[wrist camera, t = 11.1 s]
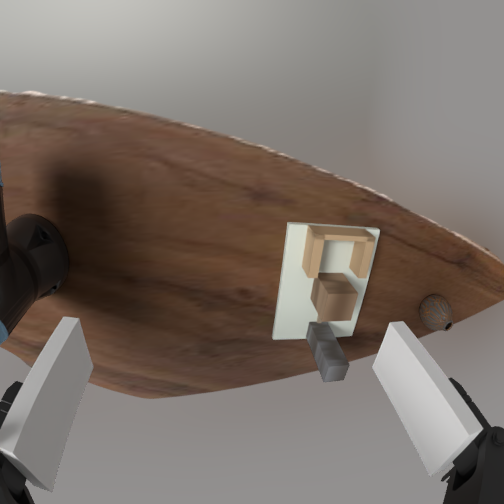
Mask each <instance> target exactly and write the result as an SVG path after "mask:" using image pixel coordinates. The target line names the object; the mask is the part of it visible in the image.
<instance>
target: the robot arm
mask: <svg viewBox="0 0 504 504" xmlns="http://www.w3.org/2000/svg"><path fill="white" fill-rule="evenodd" d="M2 187H3V182H2V179H1V165H0V345H1V344H2V342H3V341H5V340H6V339H7V338H8V336H9V335H10V333H11V332H12V330H13V329H14V328H15V326H16V325H17V324H18V322H19V321H20V320H21V318H22V317H23V316H24V314H25V313H26V312H27V310H28V309H29V308H30V307H31V305H32V304H33V303H34V302H35V301H37V300H40V299H42V298H44V297H47V296H49V295H51V294H53V293H54V292H56V291H57V290H58V289H59V287H60V286H61V285H62V284H63V282H64V281H65V279H66V277H67V274H68V268H69V259H68V253H67V249H66V246H65V243H64V241H63V239H62V237H61V235H60V234H59V232H58V231H57V230H56V228H55V227H54V226H53V225H52V224H51V223H50V222H48V221H47V220H46V219H44V218H42V217H40V216H38V215H34V214H24V215H21V216H19V217H17V218H16V219H14V220H12V221H11V222H10V223H9V224H8V225H7V226H6V222H5V213H4V202H3V189H2ZM372 368H373V370H374V372H375V374H376V376H377V377H378V379H379V381H380V383H381V384H382V386H383V388H384V390H385V392H386V393H387V395H388V397H389V399H390V401H391V403H392V404H393V406H394V408H395V410H396V412H397V414H398V416H399V417H400V419H401V421H402V423H403V425H404V427H405V429H406V431H407V433H408V434H409V436H410V438H411V440H412V442H413V444H414V446H415V448H416V450H417V452H418V454H419V456H420V458H421V460H422V462H423V463H424V466H425V468H426V470H427V472H428V474H429V476H432V475H434V474H436V473H438V472H440V471H443V470H444V469H445V468H447V467H448V466H449V465H450V463H452V462H453V464H454V465H455V466H454V467H453V468H452V469H451V470H450V471H449V472H448V473H447V474H446V475H445V476H443V478H442V480H441V481H444V480H445V479H446V478H448V477H449V476H450V478H449V479H448V480H447V483H448V486H447V490H446V494H445V498H444V502H443V504H504V429H503V428H501V427H496V426H495V427H491V426H490V425H489V423H488V422H487V421H486V419H485V418H484V416H483V415H482V413H481V412H480V411H479V409H478V408H477V406H476V405H475V404H474V402H472V400H471V398H470V397H469V395H467V393H466V391H465V390H464V389H463V387H462V386H461V385H460V384H459V383H458V382H456V381H455V380H454V379H452V378H447V376H446V375H445V374H444V373H443V371H442V370H441V369H440V367H439V366H438V365H437V363H436V362H435V361H434V359H433V358H432V357H431V356H430V354H429V353H428V352H427V350H426V349H425V348H424V347H423V345H422V344H421V343H420V342H419V340H418V339H417V338H416V336H415V335H414V334H413V333H412V332H411V330H410V329H409V328H408V327H407V325H406V324H405V323H404V322H403V321H400V322H390V323H389V326H388V329H387V331H386V334H385V337H384V339H383V342H382V344H381V347H380V349H379V352H378V355H377V357H376V359H375V362H374V364H373V366H372ZM92 370H93V364H92V361H91V358H90V355H89V352H88V348H87V345H86V342H85V338H84V335H83V331H82V327H81V324H80V320H79V318H72V317H63V318H62V320H61V321H60V323H59V325H58V326H57V328H56V329H55V331H54V332H53V334H52V335H51V337H50V339H49V340H48V342H47V343H46V345H45V347H44V348H43V350H42V352H41V353H40V355H39V357H38V358H37V360H36V362H35V364H34V365H33V367H32V369H31V371H30V372H29V374H28V376H27V378H26V379H25V381H24V383H21V382H18V381H16V382H15V383H13V384H12V385H11V386H10V387H9V388H8V389H7V390H6V392H5V394H4V396H3V398H2V401H1V402H0V504H35V503H34V501H33V499H32V497H31V495H30V493H29V490H28V489H27V487H26V486H25V482H26V479H28V480H29V481H30V482H31V483H32V484H33V485H34V486H36V487H39V488H42V489H44V490H47V491H50V492H52V490H53V487H54V483H55V479H56V475H57V472H58V468H59V465H60V461H61V458H62V454H63V451H64V448H65V444H66V441H67V438H68V435H69V432H70V429H71V426H72V423H73V420H74V417H75V414H76V412H77V409H78V406H79V403H80V401H81V398H82V395H83V393H84V390H85V387H86V385H87V382H88V380H89V377H90V375H91V372H92Z"/></svg>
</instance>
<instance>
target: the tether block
mask: <svg viewBox="0 0 504 504" xmlns="http://www.w3.org/2000/svg"><path fill="white" fill-rule="evenodd" d="M357 297H358V292H357V291H356V290H355V288H354V287H353V286H352V284H351V283H350V282H349V281H348V279H347V278H346V277H345V275H344V274H343V273H322V272H319V273H318V278H314V281H313V286H312V291H311V297H310V299H311V301H312V303H313V305H314V307H315V309H316V311H317V313H318V316H317V321H315V322H309V325H308V330H307V334H306V338H307V341H308V343H309V346H310V348H311V351H312V353H313V356H314V359H315V361H316V364H317V366H318V369H319V371H320V374H321V376H322V379H323V382H331V381H340V380H344V378H345V375H346V372H347V370H348V367H349V363H348V361H347V359H346V357H345V355H344V353H343V351H342V349H341V347H340V345H339V343H338V341H337V339H336V337H335V335H334V333H333V331H332V329H331V328H330V326H329V324H328V322H331V321H351V318H352V315H353V311H354V308H355V304H356V301H357Z"/></svg>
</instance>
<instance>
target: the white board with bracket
mask: <svg viewBox="0 0 504 504" xmlns="http://www.w3.org/2000/svg"><path fill="white" fill-rule="evenodd" d="M379 233H380V230H379V229H378V228H369V227H356V226H342V225H328V224H312V223H295V222H288V223H287V231H286V239H285V247H284V255H283V263H282V270H281V278H280V285H279V292H278V299H277V306H276V313H275V320H274V327H273V334H272V338H273V340H275V339H307V338H306V334H307V330H308V325H309V322H315V321H317V316H318V313H317V311H316V309H315V307H314V305H313V303H312V301H311V299H310V297H311V291H312V286H313V281H314V278H318V273H319V272H322V273H343V274H344V275H345V277H346V278H347V279H348V281H349V282H350V283H351V284H352V286H353V287H354V288H355V290H356V291H357V292H358V297H357V301H356V304H355V308H354V311H353V315H352V318H351V321H331V322H328V324H329V326H330V328H331V329H332V331H333V333H334V335H335V337H344V336H352V334H353V331H354V328H355V324H356V321H357V318H358V315H359V311H360V308H361V304H362V301H363V297H364V294H365V290H366V286H367V283H368V279H369V275H370V271H371V267H372V263H373V259H374V255H375V251H376V246H377V242H378V237H379Z"/></svg>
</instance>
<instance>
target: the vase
mask: <svg viewBox="0 0 504 504" xmlns="http://www.w3.org/2000/svg"><path fill="white" fill-rule="evenodd" d="M419 314H420V318H421V320H422V322H423V323H424V324H425V325H426V326H427V327H428V328H430V329H432V330H444V331H448V330H450V329H451V327H452V326H453V321H452V309H451V306H450V305H449V303H448V302H447V301H446V300H445V299H444V298H443V297H441V296H439V295H430V296H428V297H426V298H425V299H424V300H423V301H422V303H421V305H420V308H419Z"/></svg>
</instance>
